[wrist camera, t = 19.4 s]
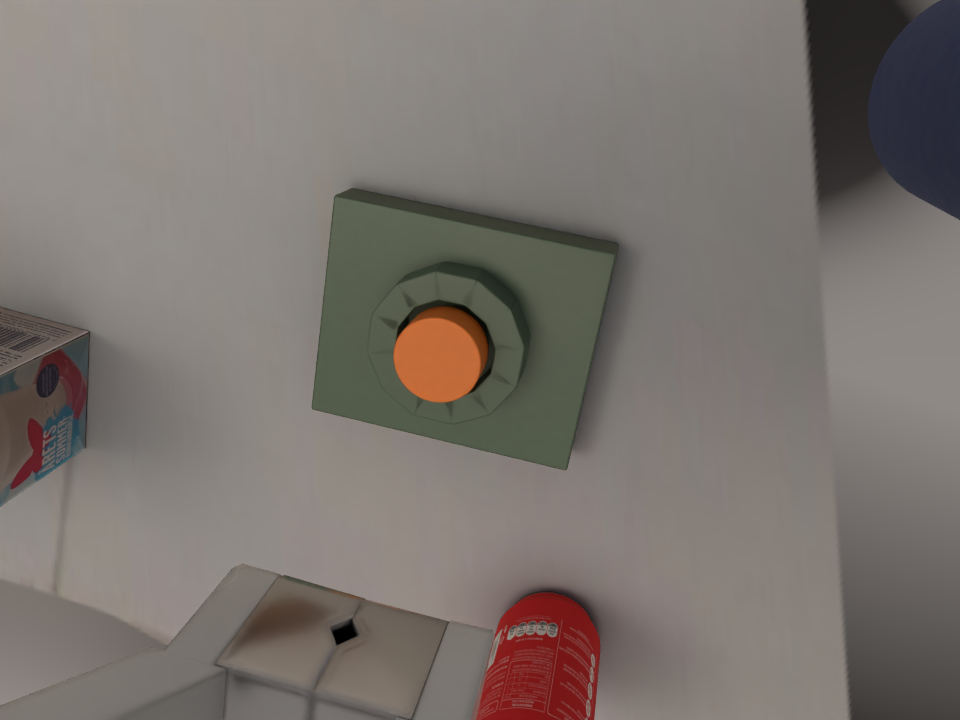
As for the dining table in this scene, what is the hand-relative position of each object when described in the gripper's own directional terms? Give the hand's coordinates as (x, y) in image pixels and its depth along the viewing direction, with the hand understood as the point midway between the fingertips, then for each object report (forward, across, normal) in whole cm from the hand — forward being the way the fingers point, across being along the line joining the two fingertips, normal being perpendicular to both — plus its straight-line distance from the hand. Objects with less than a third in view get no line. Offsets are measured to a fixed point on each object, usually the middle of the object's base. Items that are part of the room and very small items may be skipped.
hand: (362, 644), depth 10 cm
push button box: (+29, +4, +6) cm, 30 cm away
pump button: (+25, +4, +6) cm, 26 cm away
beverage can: (+29, -3, +21) cm, 36 cm away
